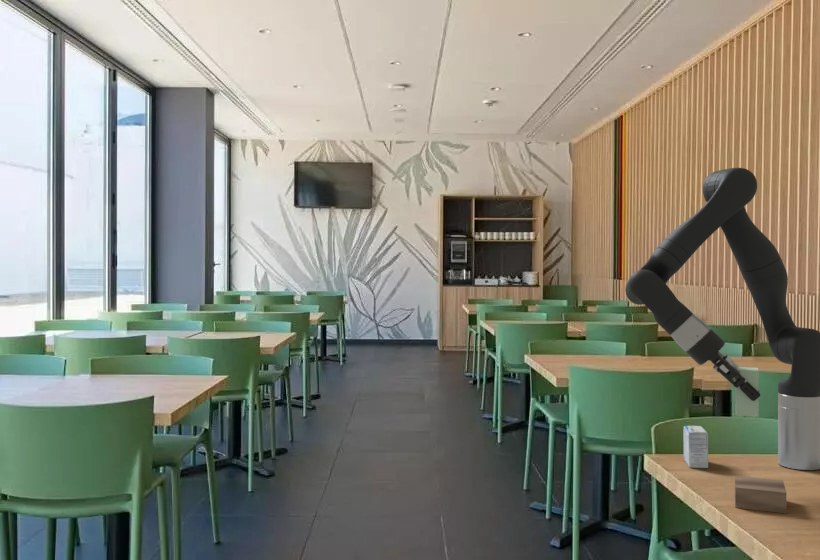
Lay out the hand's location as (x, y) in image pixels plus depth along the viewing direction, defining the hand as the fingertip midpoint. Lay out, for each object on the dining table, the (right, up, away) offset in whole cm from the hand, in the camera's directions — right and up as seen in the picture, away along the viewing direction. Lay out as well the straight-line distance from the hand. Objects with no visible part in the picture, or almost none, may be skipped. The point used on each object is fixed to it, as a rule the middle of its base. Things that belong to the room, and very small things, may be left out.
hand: (756, 395), depth 157 cm
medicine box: (-6, -20, +18) cm, 28 cm away
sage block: (-2, -4, +1) cm, 5 cm away
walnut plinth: (-5, -20, -12) cm, 24 cm away
